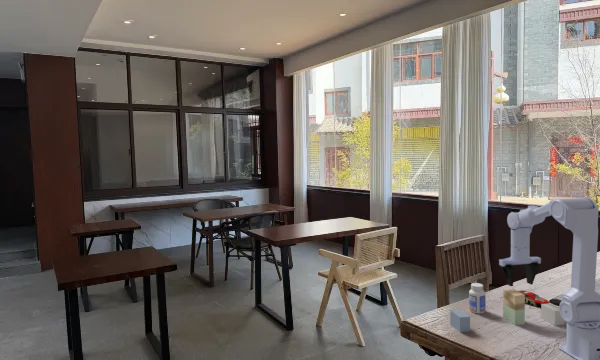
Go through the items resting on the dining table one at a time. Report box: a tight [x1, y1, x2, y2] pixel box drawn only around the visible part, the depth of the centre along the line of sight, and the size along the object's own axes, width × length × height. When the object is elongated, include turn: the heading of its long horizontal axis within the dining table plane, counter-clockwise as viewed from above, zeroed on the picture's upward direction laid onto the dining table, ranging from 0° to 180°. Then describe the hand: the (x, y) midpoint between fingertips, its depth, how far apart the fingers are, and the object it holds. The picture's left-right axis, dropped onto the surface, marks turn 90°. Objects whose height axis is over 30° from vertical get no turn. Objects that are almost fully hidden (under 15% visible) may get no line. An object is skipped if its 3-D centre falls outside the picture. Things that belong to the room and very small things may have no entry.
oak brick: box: [502, 288, 526, 311], centre depth 133 cm, size 6×4×5 cm, turn 7°
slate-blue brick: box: [449, 308, 471, 333], centre depth 129 cm, size 6×4×5 cm, turn 8°
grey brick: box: [540, 302, 565, 327], centre depth 132 cm, size 6×4×5 cm, turn 8°
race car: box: [517, 290, 550, 309], centre depth 148 cm, size 13×5×4 cm, turn 34°
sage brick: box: [502, 303, 526, 326], centre depth 133 cm, size 6×4×5 cm, turn 8°
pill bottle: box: [468, 282, 487, 315], centre depth 142 cm, size 5×5×10 cm
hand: (519, 284), depth 138 cm, fingers open, 7 cm apart
